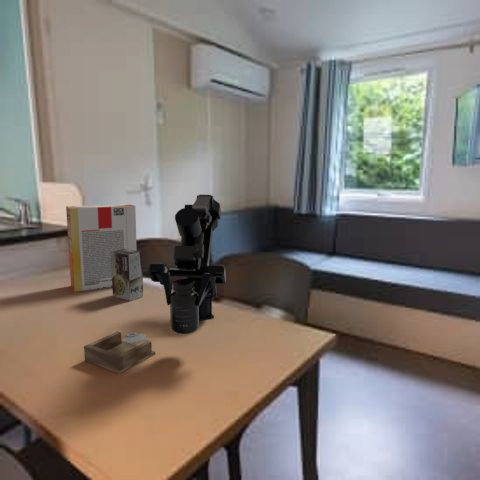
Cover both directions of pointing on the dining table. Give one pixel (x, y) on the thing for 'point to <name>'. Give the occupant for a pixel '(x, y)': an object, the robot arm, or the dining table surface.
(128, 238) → the pasta box
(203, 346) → the dining table surface
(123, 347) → the walnut well
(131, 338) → the mounting bracket
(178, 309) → the supplement bottle
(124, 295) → the coffee box
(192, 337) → the dining table surface
